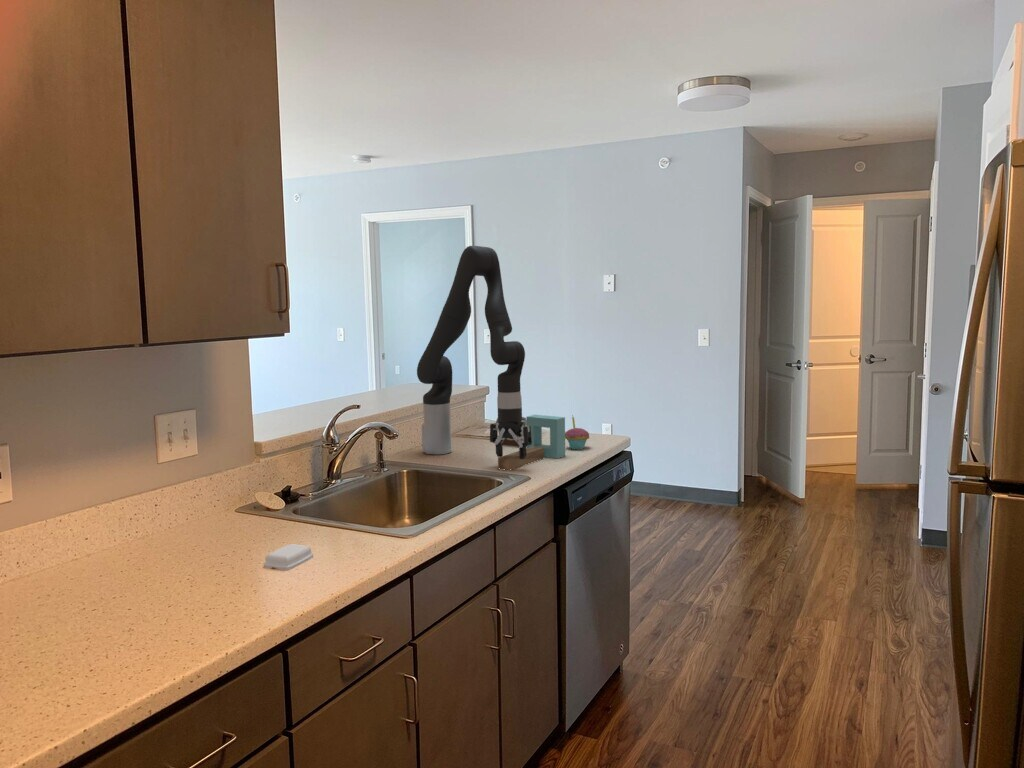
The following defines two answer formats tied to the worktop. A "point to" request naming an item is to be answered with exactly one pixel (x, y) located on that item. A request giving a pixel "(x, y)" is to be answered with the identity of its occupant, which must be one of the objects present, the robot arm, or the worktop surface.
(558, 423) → the light blue hollow block
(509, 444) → the food container
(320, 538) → the worktop surface
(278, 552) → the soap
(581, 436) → the cupcake
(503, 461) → the brown rectangular block
